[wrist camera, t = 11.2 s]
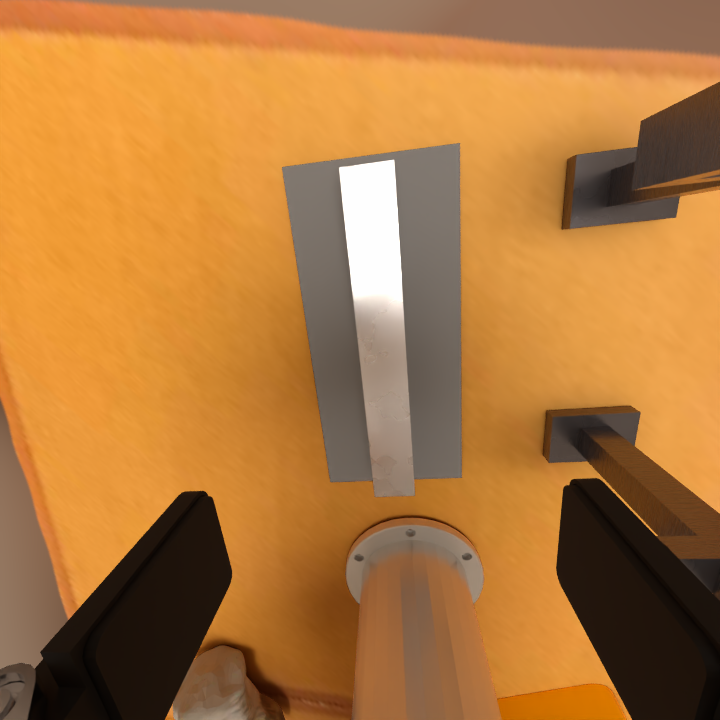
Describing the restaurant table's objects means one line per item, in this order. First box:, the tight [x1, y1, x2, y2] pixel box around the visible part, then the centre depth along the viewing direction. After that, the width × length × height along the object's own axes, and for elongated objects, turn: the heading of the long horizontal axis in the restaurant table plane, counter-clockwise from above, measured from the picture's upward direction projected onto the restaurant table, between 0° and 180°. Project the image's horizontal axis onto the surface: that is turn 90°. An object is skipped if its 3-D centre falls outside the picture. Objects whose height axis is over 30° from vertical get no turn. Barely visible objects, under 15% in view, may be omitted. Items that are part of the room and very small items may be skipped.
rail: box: [339, 160, 415, 497], centre depth 23 cm, size 22×3×3 cm, turn 6°
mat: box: [282, 143, 462, 482], centre depth 24 cm, size 24×11×1 cm, turn 6°
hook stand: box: [543, 82, 720, 600], centre depth 15 cm, size 21×9×18 cm, turn 6°
